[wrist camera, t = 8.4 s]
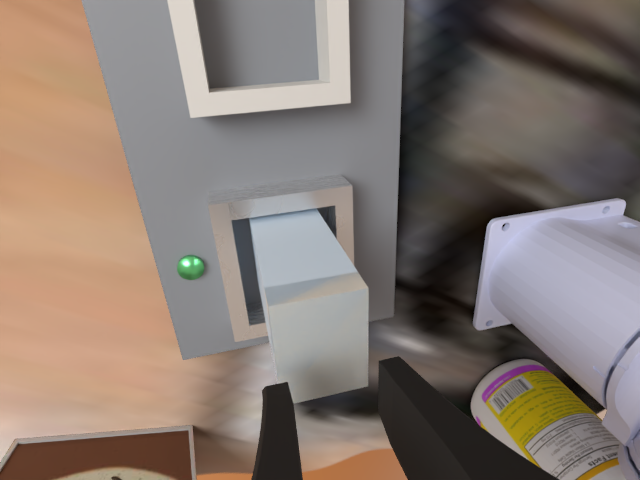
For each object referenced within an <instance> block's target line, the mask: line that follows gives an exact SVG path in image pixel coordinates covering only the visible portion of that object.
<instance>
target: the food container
mask: <svg viewBox="0 0 640 480" xmlns="http://www.w3.org/2000/svg"><path fill="white" fill-rule="evenodd" d="M196 479H197V478H196V465H195V451H194V437H193V425H188V426H176V427H163V428H150V429H137V430H125V431H112V432H99V433H87V434H74V435H61V436H48V437H36V438H23V439H15V440H14V442H13V443H12V445H11V446H10V448H9V449H8V451H7V453H6V454H5V456H4V457H3V459H2V460H1V462H0V480H196Z"/></svg>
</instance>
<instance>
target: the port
mask: <svg viewBox="0 0 640 480" xmlns="http://www.w3.org/2000/svg"><path fill="white" fill-rule="evenodd" d="M321 207H326V218H327V225H328V227H329V228H330V230H331V231H332V233H333V234H334V236H335V238H336V239H337V241H338V242H339V244H340V245H341V247H342V248H343V250H344V251H345V253H346V254H347V256H348V257H349V259H350V261H351V262H352V264H353V265H354V235H353V187H352V185H351V184H350V183H349V182H348V181H347V180H346V179H345V178H344V177H343V176H342V175H341V174H338V175H331V176H323V177H315V178H307V179H300V180H292V181H284V182H276V183H269V184H261V185H253V186H245V187H238V188H230V189H222V190H214V191H208V208H209V213H210V218H211V224H212V229H213V234H214V239H215V244H216V249H217V254H218V259H219V264H220V269H221V274H222V279H223V284H224V289H225V294H226V299H227V304H228V309H229V314H230V319H231V324H232V330H233V335H234V340H235V342H239V341H244V340H249V339H254V338H258V337H263V336H268V332H267V327H266V322H265V316H264V311H263V306H262V302H258V303H252V304H246V298H245V292H244V286H243V280H242V275H241V269H240V263H239V257H238V251H237V246H236V240H235V234H234V228H233V222H232V220H238V219H245V218H252V217H259V216H266V215H273V214H280V213H286V212H293V211H300V210H307V209H314V208H321ZM177 271H178V274H179V275H180V276H181V277H182V278H184V279H186V280H195V279H198V278H199V277H200V276H201V275H202V274H203V272H204V262H203V261H202V259H201V258H200V257H198V256H196V255H186V256H184V257H182V258H181V259H180V260H179V262H178V266H177Z"/></svg>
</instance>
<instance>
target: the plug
mask: <svg viewBox="0 0 640 480" xmlns="http://www.w3.org/2000/svg"><path fill="white" fill-rule="evenodd" d="M249 223H250V230H251V237H252V244H253V251H254V258H255V265H256V272H257V279H258V285H259V290H260V295H261V301H262V306H263V311H264V316H265V322H266V327H267V332H268V337H269V343H270V348H271V353H272V359H273V364H274V369H275V374H276V380H277V384H279V383H284V382H288V385H289V389H290V392H291V396H292V400H293V404H294V403H298V402H302V401H307V400H311V399H315V398H320V397H324V396H328V395H332V394H337V393H341V392H345V391H349V390H354V389H358V388H362V387H367V386H368V308H369V288H368V287H367V285H366V283H365V282H364V280H363V279H362V277H361V276H360V274H359V273H358V271H357V270H356V268H355V267H354V265H353V264H352V262H351V261H350V259H349V257H348V256H347V254H346V253H345V251H344V250H343V248H342V247H341V245H340V244H339V242H338V241H337V239H336V238H335V236H334V234H333V233H332V231H331V230H330V228H329V227H328V225H327V224H326V222H325V221H324V219H323V218H322V216H321V215H320V213H319V212H318V210H317V208H314V209H307V210H300V211H293V212H286V213H280V214H273V215H266V216H259V217H252V218H249Z"/></svg>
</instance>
